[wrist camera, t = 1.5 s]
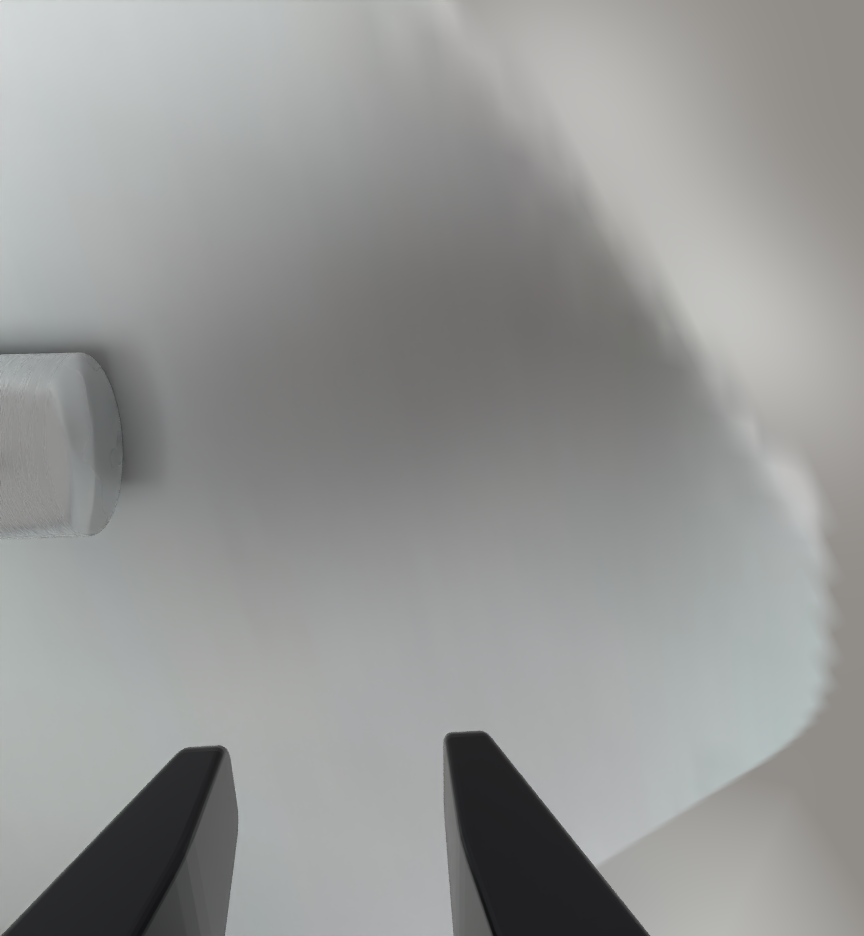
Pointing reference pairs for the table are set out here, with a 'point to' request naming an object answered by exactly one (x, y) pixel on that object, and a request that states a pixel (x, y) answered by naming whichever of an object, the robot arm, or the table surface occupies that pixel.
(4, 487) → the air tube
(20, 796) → the table surface
